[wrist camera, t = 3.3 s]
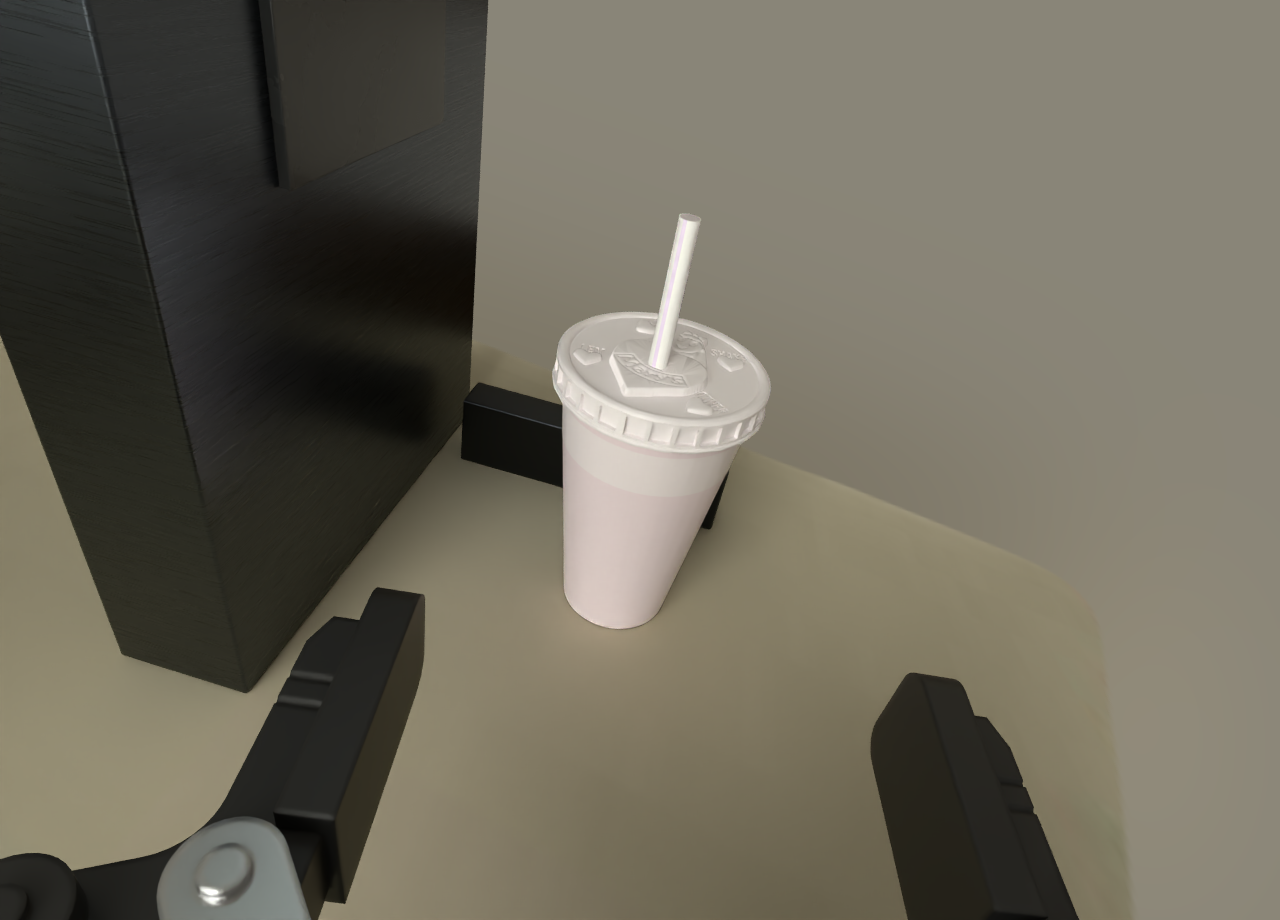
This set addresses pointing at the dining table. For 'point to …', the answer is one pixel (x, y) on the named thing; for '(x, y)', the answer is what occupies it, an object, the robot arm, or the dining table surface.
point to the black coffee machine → (245, 295)
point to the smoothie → (646, 443)
